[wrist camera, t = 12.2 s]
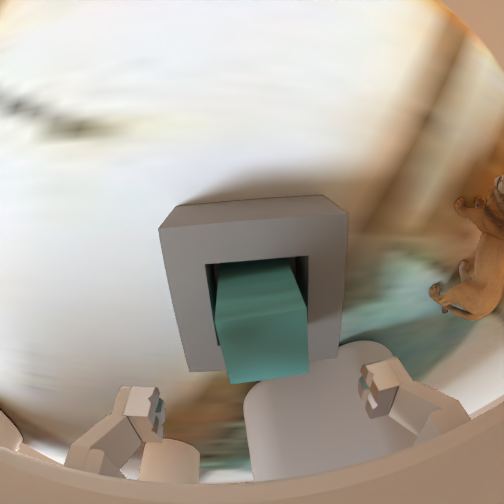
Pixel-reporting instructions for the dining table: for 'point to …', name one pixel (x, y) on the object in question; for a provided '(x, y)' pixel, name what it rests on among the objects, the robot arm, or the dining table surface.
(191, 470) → the cylindrical container
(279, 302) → the teal pin
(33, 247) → the dining table surface
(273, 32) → the dining table surface
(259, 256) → the bore block
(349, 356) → the plastic bottle
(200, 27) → the dining table surface
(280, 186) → the dining table surface
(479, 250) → the lion figurine
